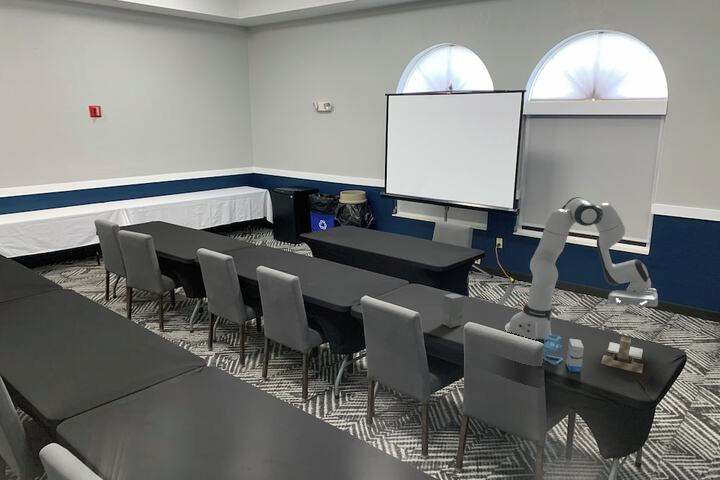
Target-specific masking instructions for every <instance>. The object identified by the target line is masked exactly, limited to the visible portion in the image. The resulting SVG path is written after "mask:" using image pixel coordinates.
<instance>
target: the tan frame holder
mask: <svg viewBox="0 0 720 480" xmlns="http://www.w3.org/2000/svg"><path fill="white" fill-rule="evenodd" d="M612 354H613V355H612V356H610V355H609V356H608V355H606V354H604V355H603V356H602V359H601V362H600V364H601V365H603V366H604V365H605V366H608V367H612V368H617V369H620V370H625V371H629V372H633V373H639V374H641V375H642V374H643V369H644V363H639V362H635V358H634V356H629V358H628V363H625V362H621V361H617V359H618V353H616V352H614V353H612Z"/></svg>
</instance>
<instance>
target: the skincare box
mask: <svg viewBox="0 0 720 480" xmlns="http://www.w3.org/2000/svg"><path fill="white" fill-rule="evenodd" d="M442 303H443V304H442V323H441V325H444V326H446V327H448V328H450V329H452V328H454V327H458V326H462V321H463V316H462V315H463V306H464V305H463V304H464V296H463V295H460V294H457V293H449V294H444V295H443V301H442Z"/></svg>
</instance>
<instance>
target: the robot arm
mask: <svg viewBox="0 0 720 480" xmlns="http://www.w3.org/2000/svg"><path fill="white" fill-rule="evenodd" d="M575 223H577V224H579V225H580V226H583V227H588V226H592V225H595V227H596V229H597V231H598V236H599V237H598V238H597V239H596V248H597V253H598V256H599V259H600V262H601V265H602V270H603V276H604V279H605V281H606V283H608V284H609V285H611V286H615V287H616V286H618V285H621V284H622V285H623V284H625V283H629V285H628V286H627V287H626V289H625V290H620V289H619V290H618V289H614V290H612V291H611V292H609V293H608V302H610V303H614V304H616V306H621V304H626V305H634V306H639V308H640V309H643V308H644V307H645V308H646V307H658V304H659V300H658V298H659V297H658V295H659V294H658V291H657V289H656V288H653V287H652V281H651V278H650V273H649V269H648V267H647V265H646V264H645V263H644V262H643V261H642V260H639V259H636V258H635V259H632V260H627V261H624V262H620V263H616V264H615V263H613V262H612V259H611V255H610V249H611V248H612V247H614V246H615V245H616V244H617V243H619V242H621V240H622V239H623V238H624V236H625V232H626V229H625V225H624V222H623V221H622V218H621V217H620V215H619V213H618V212H617V210H616V209H615V208H614V207H613V206H612V204H610V203H608V202H603V203H598V204H597V205H595V204H593V203H592V202H590V201H589V200H588V199H585V198H583V197H579V196H578V197H572V198H570V199H568V201H567V202H566V203H565V204H564V205H563V206H562V207H561V208H559V209H558V208H557V209H555V210H553V211H552V212H551V213H550V215H549V216H548V219H547V221H546V223H545V226H544V230H543V232H542V235H541V237H540V241H539V243H538V246H537V248H536V250H535V252H534V254H533V255H532V258H531V259H530V262H529V269H530V271H531V274H532V281H531V285H530V288H529V291H528V301H527V302H524V304H523V306H522V311H520V312H517V313H516V314H514V315H513V316H512V317H511V319H510V321H509V322H507V323H506V324H505V326H504V331H505V330H506V331H505V332H506V333H509V332H510V333H509V334H512V333H517V335H516V336H518V334H519V335H520V336H519V337H522V336H524V337H523V338H525V337H527V338H526V339H528V338H531V339H534V340H533V341H536V339H537V340H544V339H543V338H549V335H553V334H552V329H551V320H552V314H553V308H552V304H553V298H554V297H553V296H554V292H555V287H556V284H557V281H558V278H559V271H558V268H557V266H556V262H557V259H558V258H559V257H560V255H561V253H562V252H563V251H564V248H565V245H566V242H567V240H568V237H569V235H570V234H569V233H570V231H571V228H572V226H574V224H575ZM511 332H512V333H511ZM521 335H522V336H521ZM531 339H530V340H531Z"/></svg>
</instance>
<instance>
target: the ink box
mask: <svg viewBox="0 0 720 480" xmlns="http://www.w3.org/2000/svg"><path fill="white" fill-rule="evenodd" d="M584 350H585V347H584V344H583V342H582V340H581V339H575V338H569V339H568V346H567V353H566V360H565V364H566V366H567V369H568V371H569V372H572V373H573V372H574V373H582V366H583V359H584V352H585V351H584Z"/></svg>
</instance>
